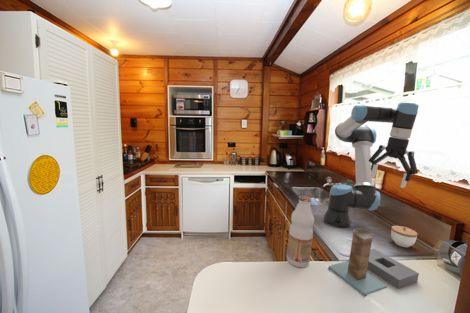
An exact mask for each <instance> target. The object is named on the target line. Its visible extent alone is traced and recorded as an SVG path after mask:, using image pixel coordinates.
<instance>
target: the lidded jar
mask: <svg viewBox="0 0 470 313" xmlns="http://www.w3.org/2000/svg"><path fill="white" fill-rule="evenodd" d="M390 237H391V239H392V240H393V242H394V244H396V245H397V246H399V247H401V248H410V247H412V246H414V244H415V243H416V241H417V238H418V232H416V230H414V229H412V228H409V227H406V226H401V225H392V226H391V231H390Z"/></svg>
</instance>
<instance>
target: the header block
mask: <svg viewBox="0 0 470 313" xmlns="http://www.w3.org/2000/svg"><path fill="white" fill-rule="evenodd" d="M367 271H369V272H371V273H373V274H374V275H375V276H377V277H378V278H380V279H382V280H383V281H385V282H387V284H389V285H391V286H392V287H394V288H395V289H402V288H405V287H406V286H407V287H408V286H409V285H412V284H415V283H417V282H418V279H419V275H420V272H417V271H416V270H414V269H412V268H410V267H409V266H407V265H405V264H403V263H401V262H399V261H397V260H396V259H394V258H392V257H390V256H388V255H387V254H384V253H382V252H381V251H379V250H377V249H375V248H371V249H370V255H369V261H368V267H367Z"/></svg>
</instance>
